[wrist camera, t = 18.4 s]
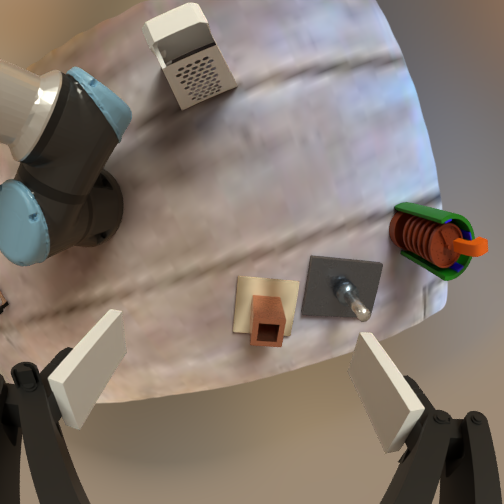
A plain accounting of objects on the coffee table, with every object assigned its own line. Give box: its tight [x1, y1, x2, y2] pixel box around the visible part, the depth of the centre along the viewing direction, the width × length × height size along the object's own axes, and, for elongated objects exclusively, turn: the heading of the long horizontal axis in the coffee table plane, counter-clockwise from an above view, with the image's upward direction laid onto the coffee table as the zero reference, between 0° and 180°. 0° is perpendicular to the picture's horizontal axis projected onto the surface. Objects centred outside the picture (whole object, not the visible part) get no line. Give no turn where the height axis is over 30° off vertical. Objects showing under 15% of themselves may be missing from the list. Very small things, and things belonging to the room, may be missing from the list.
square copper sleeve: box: [250, 295, 286, 347], centre depth 49 cm, size 5×5×9 cm
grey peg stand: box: [301, 255, 383, 322], centre depth 47 cm, size 14×11×12 cm
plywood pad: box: [233, 276, 299, 336], centre depth 54 cm, size 11×11×1 cm
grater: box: [142, 3, 237, 110], centre depth 34 cm, size 10×10×20 cm
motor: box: [389, 202, 488, 281], centre depth 41 cm, size 10×9×20 cm
